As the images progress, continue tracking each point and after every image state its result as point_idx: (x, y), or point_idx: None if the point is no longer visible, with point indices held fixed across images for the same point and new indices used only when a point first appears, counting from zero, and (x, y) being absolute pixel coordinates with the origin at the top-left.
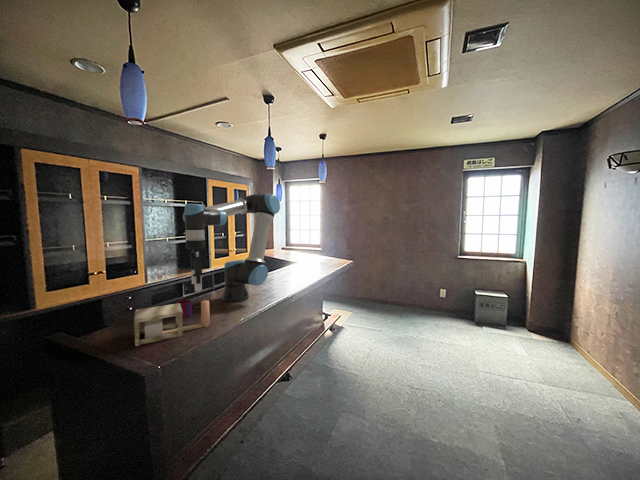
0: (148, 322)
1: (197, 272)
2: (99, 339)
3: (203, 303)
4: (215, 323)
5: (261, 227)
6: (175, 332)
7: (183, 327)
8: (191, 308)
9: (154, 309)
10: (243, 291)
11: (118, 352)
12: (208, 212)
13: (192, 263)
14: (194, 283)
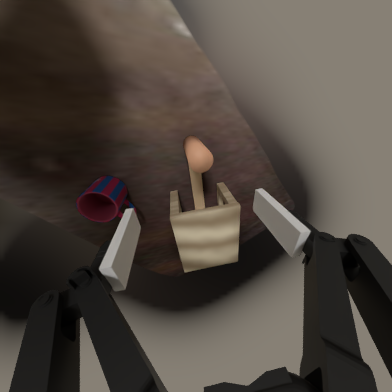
0: None
1: (358, 264)
2: (182, 265)
3: (211, 164)
4: (189, 121)
5: None
6: (219, 195)
7: (194, 185)
8: (104, 182)
9: (196, 250)
10: None
11: None
12: None
13: (140, 347)
14: (138, 221)
